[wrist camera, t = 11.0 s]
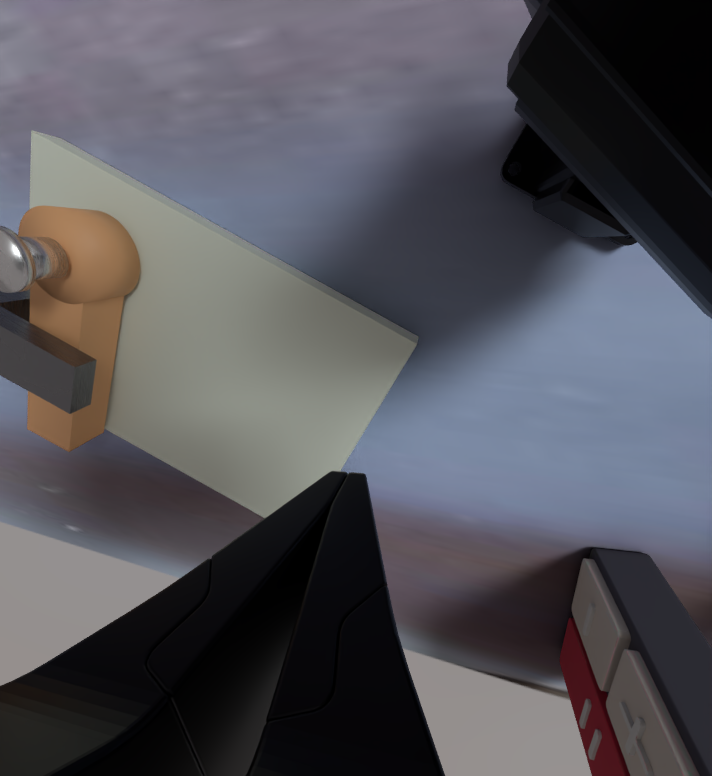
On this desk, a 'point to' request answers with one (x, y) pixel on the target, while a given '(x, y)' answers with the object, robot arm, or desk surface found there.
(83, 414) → the link
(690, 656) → the calculator
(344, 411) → the base board
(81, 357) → the keeper
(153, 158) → the desk surface
